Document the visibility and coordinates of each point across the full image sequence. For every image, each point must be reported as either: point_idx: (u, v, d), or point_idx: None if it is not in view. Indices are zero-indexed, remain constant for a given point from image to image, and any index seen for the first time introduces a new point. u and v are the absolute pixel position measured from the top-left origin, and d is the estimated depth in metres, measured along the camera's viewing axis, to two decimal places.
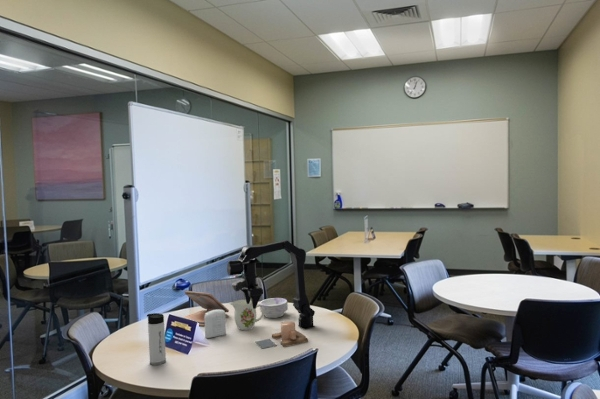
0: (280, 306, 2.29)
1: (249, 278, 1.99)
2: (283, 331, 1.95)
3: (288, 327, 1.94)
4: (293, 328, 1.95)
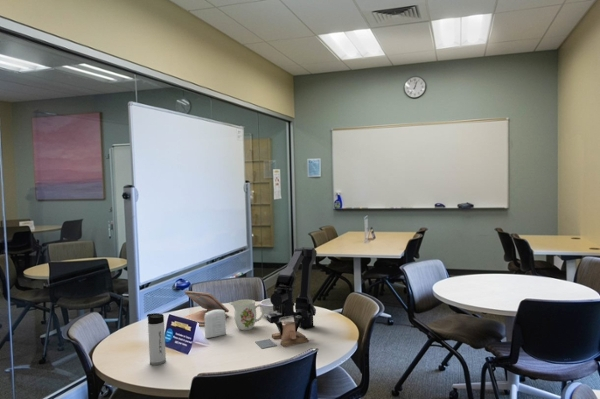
0: None
1: (281, 304, 1.97)
2: (283, 331, 1.95)
3: (288, 327, 1.94)
4: (293, 328, 1.95)
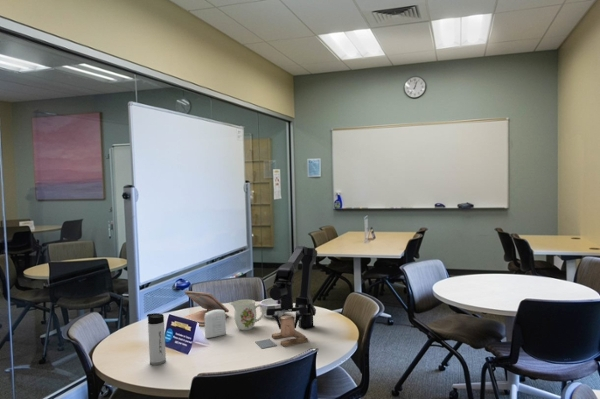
0: (280, 306, 2.29)
1: None
2: (281, 325, 1.96)
3: (284, 321, 1.94)
4: (290, 323, 1.94)
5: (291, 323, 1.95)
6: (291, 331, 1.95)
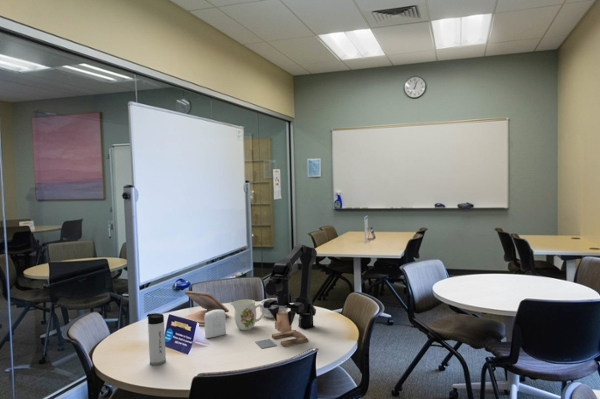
0: None
1: None
2: None
3: (278, 316, 1.94)
4: (283, 319, 1.93)
5: (284, 319, 1.93)
6: (284, 327, 1.93)
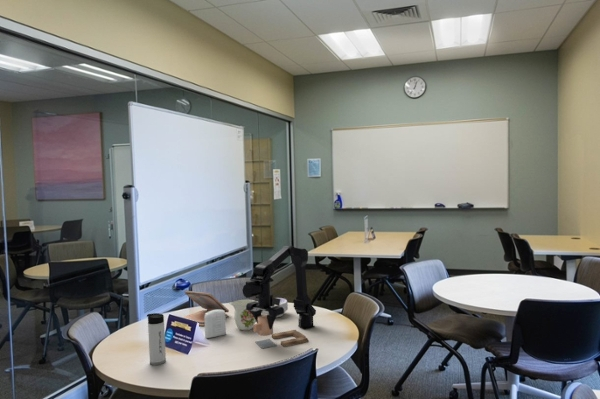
0: (280, 306, 2.29)
1: None
2: None
3: (258, 319, 1.91)
4: (262, 322, 1.90)
5: (263, 322, 1.90)
6: (263, 330, 1.90)
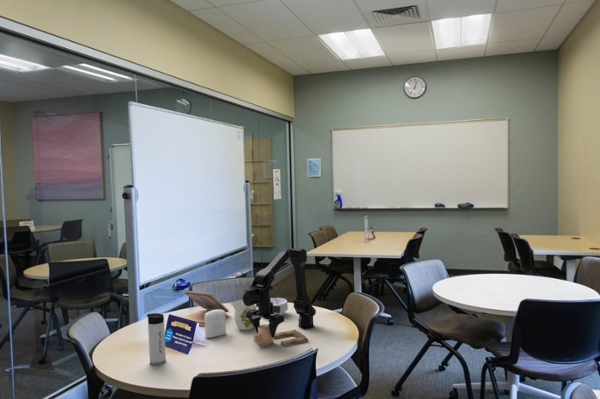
0: (280, 306, 2.29)
1: None
2: None
3: (258, 329, 1.91)
4: (262, 332, 1.90)
5: (264, 333, 1.90)
6: (264, 341, 1.90)
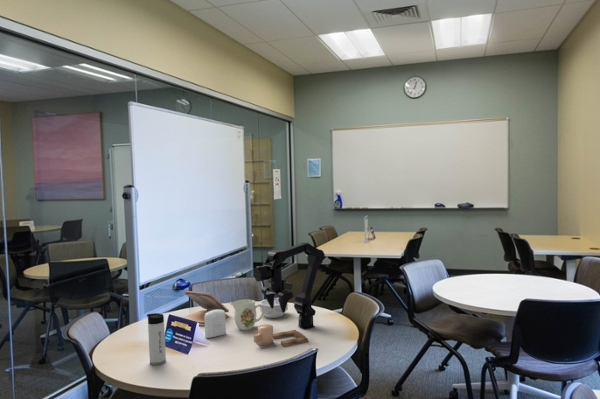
0: None
1: None
2: None
3: (258, 329, 1.91)
4: (263, 332, 1.90)
5: (264, 333, 1.90)
6: (264, 341, 1.90)
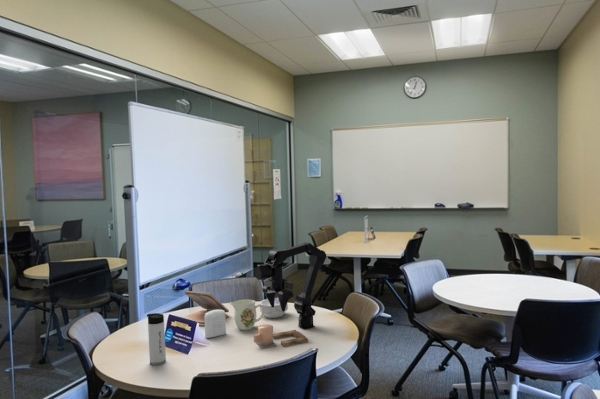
0: (280, 306, 2.29)
1: None
2: None
3: (258, 329, 1.92)
4: (263, 332, 1.90)
5: (264, 333, 1.90)
6: (263, 341, 1.90)
